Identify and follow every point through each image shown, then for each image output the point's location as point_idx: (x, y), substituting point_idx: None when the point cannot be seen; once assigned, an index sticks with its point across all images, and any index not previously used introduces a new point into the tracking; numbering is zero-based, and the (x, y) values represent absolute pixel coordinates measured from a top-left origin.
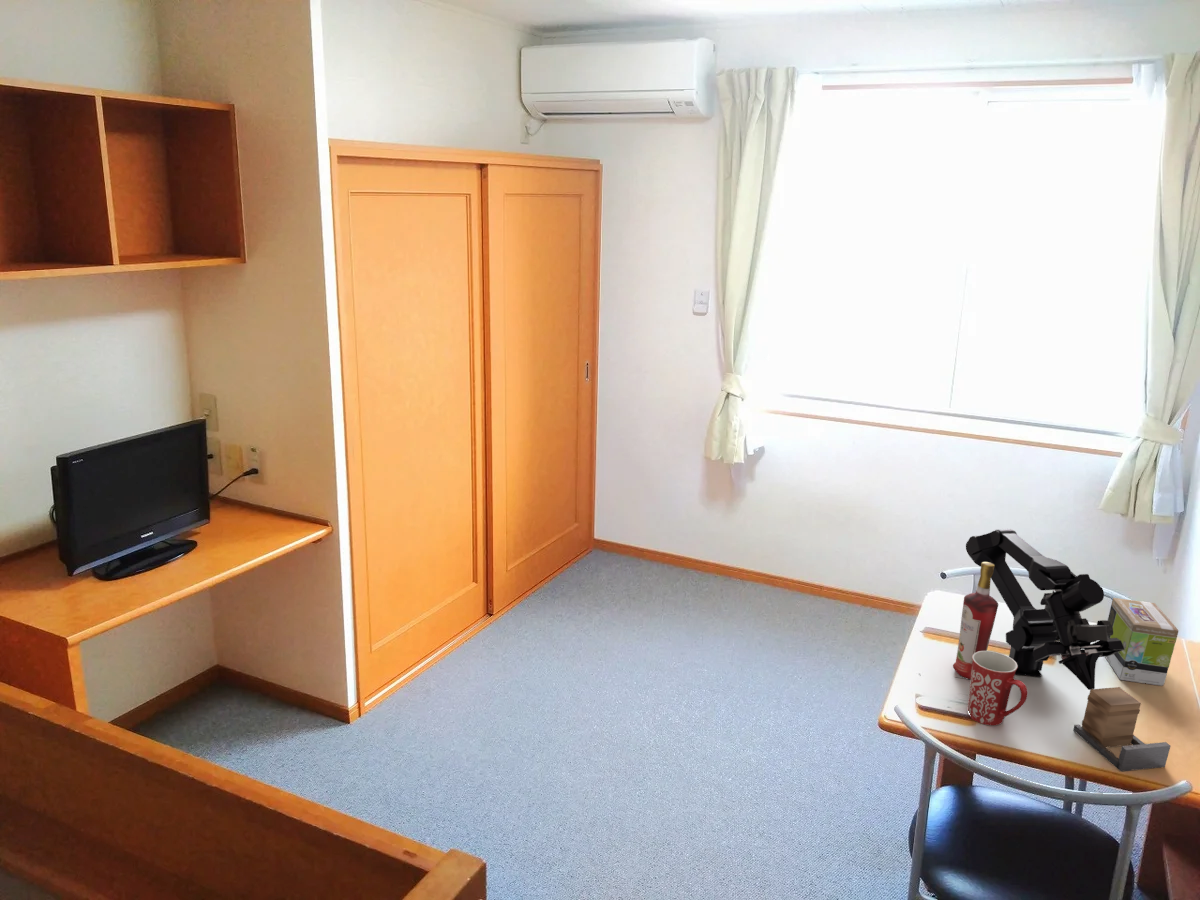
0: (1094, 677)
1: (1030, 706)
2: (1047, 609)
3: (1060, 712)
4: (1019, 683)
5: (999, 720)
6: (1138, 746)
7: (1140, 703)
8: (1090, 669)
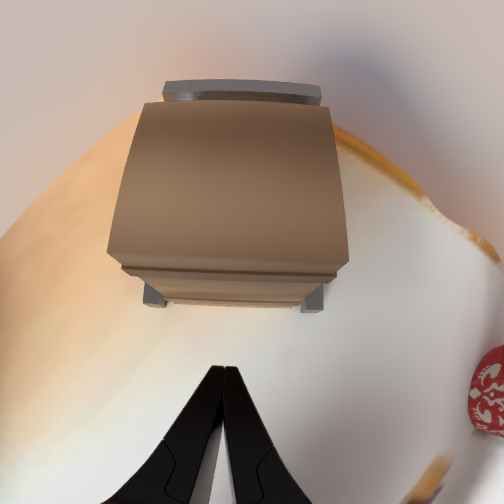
0: (185, 411)
1: (362, 453)
2: None
3: (284, 418)
4: None
5: (500, 348)
6: (268, 87)
7: (148, 103)
8: (198, 464)
